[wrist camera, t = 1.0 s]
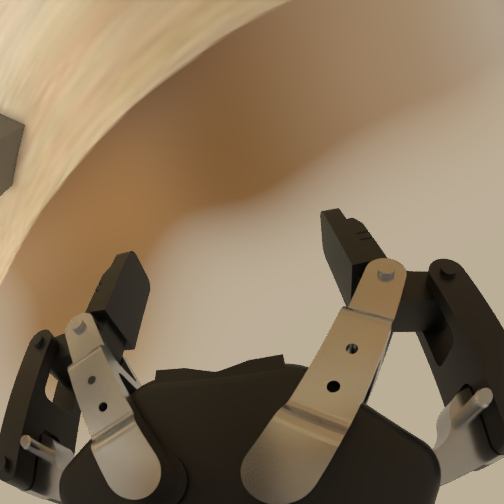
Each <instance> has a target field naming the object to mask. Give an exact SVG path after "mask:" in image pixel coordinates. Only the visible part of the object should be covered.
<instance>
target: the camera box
mask: <svg viewBox="0 0 504 504" xmlns="http://www.w3.org/2000/svg"><path fill="white" fill-rule="evenodd" d="M24 126H25V125H23V124H21V123H19V122H17V121H15V120H12V119H10V118H8V117H6V116H4V115H2V114H0V196H1V195H2V194H3V193H4V192H5V191H6V190H7V189H8V188H9V187H10V186H12V182H13V176H14V170H15V165H16V160H17V155H18V150H19V146H20V141H21V137H22V133H23V129H24Z"/></svg>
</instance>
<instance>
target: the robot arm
mask: <svg viewBox="0 0 504 504" xmlns="http://www.w3.org/2000/svg"><path fill="white" fill-rule="evenodd" d="M320 217H321V230H322V243H323V250H324V254H325V257H326V260H327V262H328V264H329V267H330V269H331V271H332V274H333V276H334V278H335V280H336V283H337V285H338V288H339V290H340V292H341V295H342V297H343V300H344V302H345V304H346V307H342V309H341V310H340V312H339V313H338V315H337V317H336V319H335V321H334V323H333V325H332V327H331V329H330V330H329V333H328V334H327V336H326V338H325V340H324V342H323V343H322V345H321V347H320V349H319V351H318V352H317V354H316V356H315V358H314V360H313V361H312V363H311V365H310V366H309V367H305V366H301V365H295V364H285V362H284V358H283V354H282V355H276V356H271V357H265V358H260V359H253V360H249V361H246V362H243V363H241V364H238V365H235V366H232V367H229V368H227V369H224V370H221V371H218V372H210V371H202V370H193V369H187V368H182V369H169V370H157V371H156V377H155V380H154V381H151V382H149V383H147V384H145V385H143V386H141V384H140V382H139V380H138V379H137V377H136V375H135V374H134V372H133V370H132V368H131V367H130V365H129V363H128V361H127V360H126V358H125V357H124V356H123V352H124V350H133V349H135V345H136V341H137V337H138V333H139V329H140V326H141V321H142V317H143V314H144V310H145V307H146V303H147V300H148V296H149V293H150V283H149V279H148V277H147V275H146V273H145V271H144V269H143V267H142V265H141V264H140V262H139V259H138V258H137V255H136V254H135V253H134V252H133V251H130V252H126V253H122V254H118V255H116V257H115V259H114V261H113V263H112V265H111V267H110V268H109V269H108V270H107V271H106V272H105V273H104V274H103V276H102V278H101V280H100V282H99V285H98V286H97V288H96V290H95V291H96V292H95V293H94V295H93V297H92V299H91V301H90V303H89V306H88V308H87V310H86V312H85V313H83V314H79V315H78V316H76V317H75V318H74V319H72V320H71V321H70V322H69V324H68V326H67V327H66V331H65V333H64V334H62V335H59V336H57V337H54V336H53V335H52V334H51V332H50V331H49V330H42V331H40V332H38V333H37V334H36V335H35V336H34V337H33V338H32V340H31V341H30V343H29V346H28V348H27V351H26V353H25V356H24V358H23V361H22V363H21V366H20V369H19V372H18V374H17V377H16V380H15V383H14V386H13V389H12V393H11V395H10V399H9V402H8V405H7V409H6V413H5V417H4V420H3V424H2V428H1V432H0V479H1V480H2V481H4V482H6V483H8V484H10V485H12V486H15V487H17V488H18V489H20V490H21V491H24V492H26V493H28V494H31V495H33V496H36V497H38V498H41V499H46V500H49V501H52V502H55V503H58V504H435V500H436V497H437V494H438V491H439V487H440V486H442V485H444V484H447V483H449V482H451V481H453V480H455V479H457V478H459V477H461V476H463V475H465V474H467V473H469V472H471V471H477V470H480V469H483V468H485V467H487V466H489V465H491V464H493V463H494V462H497V461H498V460H500V459H502V458H504V329H503V327H502V326H501V324H500V322H499V321H498V319H497V318H496V316H495V314H494V313H493V311H492V309H491V308H490V306H489V305H488V303H487V302H486V300H485V299H484V297H483V296H482V294H481V293H480V291H479V290H478V288H477V287H476V285H475V284H474V283H473V281H472V280H471V279H470V277H469V276H468V274H467V273H466V272H465V270H464V269H463V268H462V267H461V266H460V265H459V264H458V263H456V262H454V261H452V260H448V259H438V260H435V261H433V262H432V263H431V265H430V267H429V271H428V272H413V271H406V269H405V268H404V266H403V265H402V264H401V263H399V262H398V261H396V260H393V259H388V258H387V257H386V256H385V254H384V253H383V251H382V250H381V248H380V247H379V246H378V244H377V243H376V241H375V240H374V238H372V236H371V234H370V233H369V232H368V230H367V229H366V227H365V226H364V225H363V224H362V223H361V222H360V221H358V220H356V219H354V218H349V219H346V218H345V216H344V215H343V214H342V212H341V211H340V209H339V208H337V209H332V210H326V211H321V215H320ZM393 332H416V334H417V336H418V338H419V341H420V343H421V346H422V348H423V350H424V353H425V355H426V357H427V360H428V363H429V365H430V368H431V370H432V373H433V375H434V378H435V380H436V383H437V386H438V389H439V391H440V394H441V397H442V400H443V403H444V406H445V408H444V409H443V411H442V412H441V413H440V415H439V417H438V420H437V426H436V427H437V441H436V444H435V447H434V448H433V450H432V449H431V447H430V446H429V445H428V444H426V443H425V442H424V441H422V440H421V439H419V438H417V437H416V436H414V435H413V434H411V433H409V432H408V431H406V430H405V429H403V428H401V427H400V426H398V425H397V424H395V423H394V422H392V421H390V420H389V419H387V418H386V417H385V416H383V415H381V414H380V413H378V412H377V411H375V410H374V409H372V408H371V407H369V406H368V405H366V404H367V402H368V399H369V397H370V395H371V392H372V390H373V387H374V385H375V382H376V380H377V377H378V374H379V371H380V369H381V366H382V363H383V361H384V358H385V355H386V352H387V350H388V346H389V344H390V341H391V338H392V335H393ZM49 373H50V374H51V375H53V376H54V377H55V378H56V379H57V380H58V383H57V387H56V391H55V394H54V398H53V402H51V401H50V400H48V398H47V397H46V394H45V386H46V383H47V379H48V376H49ZM81 412H82V415H83V417H84V420H85V423H86V425H87V428H88V430H89V433H90V435H91V439H90V441H89V442H88V443H87V444H86V445H85V446H84V447H83V448H82V449H81V450H80V452H79V453H78V454H77V455H76V456H75V457H74V453H75V445H76V438H77V432H78V426H79V420H80V414H81Z"/></svg>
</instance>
